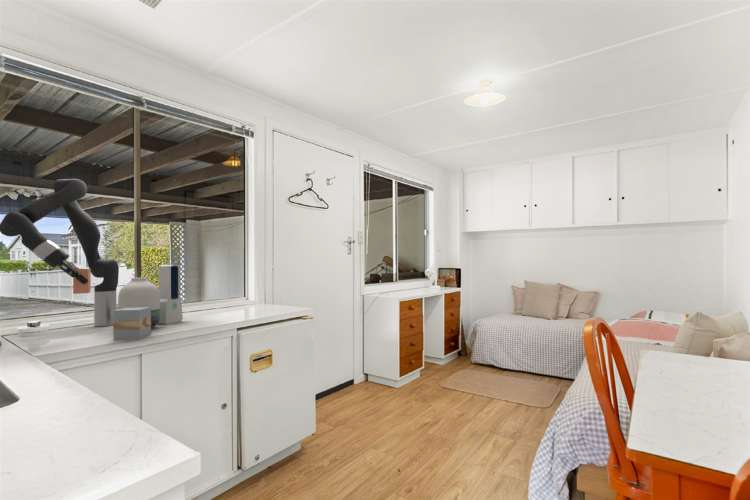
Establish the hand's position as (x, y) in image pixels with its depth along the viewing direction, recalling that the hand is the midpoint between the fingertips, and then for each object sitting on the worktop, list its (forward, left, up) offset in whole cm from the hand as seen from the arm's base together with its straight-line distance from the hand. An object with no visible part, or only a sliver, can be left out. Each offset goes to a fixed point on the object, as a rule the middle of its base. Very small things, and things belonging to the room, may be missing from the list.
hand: (87, 282), depth 162 cm
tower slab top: (+1, +18, -16) cm, 24 cm away
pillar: (+1, -2, -4) cm, 5 cm away
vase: (-20, +11, -23) cm, 33 cm away
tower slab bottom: (+1, +18, -24) cm, 30 cm away
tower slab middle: (+1, +18, -20) cm, 27 cm away
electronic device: (-36, +18, -23) cm, 47 cm away
